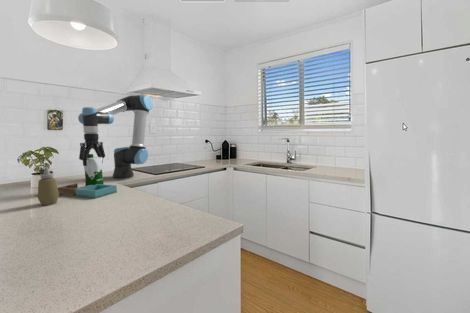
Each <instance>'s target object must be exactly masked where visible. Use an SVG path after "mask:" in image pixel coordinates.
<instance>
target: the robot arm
mask: <svg viewBox="0 0 470 313" xmlns="http://www.w3.org/2000/svg"><path fill="white" fill-rule="evenodd" d="M152 109H153V101H152V98H151V97H150V96H148V95H146V94H139V95H137V94H136V95H129V96H128V95H127V96H126V97H123V98H120V99H118V100H116V101H115V102H113V103H110V104H107V105H104V106H102V107H99V108H96V107H91V106H89V107H87V106H84V107H83V108H82V111H81V113H79V115H78V117H77V118H78V122H79V123H81V124H82V125H83V126H82V127H83V140H84V142H80V143H79V146H80V150H79V156H78V159H79V160H80V161H82V165H83V168H84V170H83V171H84V172H85V171H89V164H88V160H87V158H88V155H89V154H90V152H91V150H92V149H93V150H94V151H95V153H96V157H103V158H102V164H103V159H104V158H106V154H105V150H104V145H103V144H104V143H103V141H99V138H100V137H99V134H98V133H99V127H98V126H99V125H111V124H113V123H114V120H115V119H114V115H117V114H119V113H125V112H130V111H132V112H133V114H134V115H133V116H134V118H133V129H132V139H131V141H132V142H131V144H130V145H129V146H125V147H123V146H122V147H115V148H114V149H113V158H114V159H113V161H114V170H113V173H112V178H113V179H126V178H132V177H134V175H135V174H134V171H133V168H132V165H143V164H145V163H146V162H147V160H148V159H149V152H148V150H147V148H146V146H145V136H146V124H147V123H146V122H147V115H149V114H150V113H149V112H150V111H151V110H152Z"/></svg>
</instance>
